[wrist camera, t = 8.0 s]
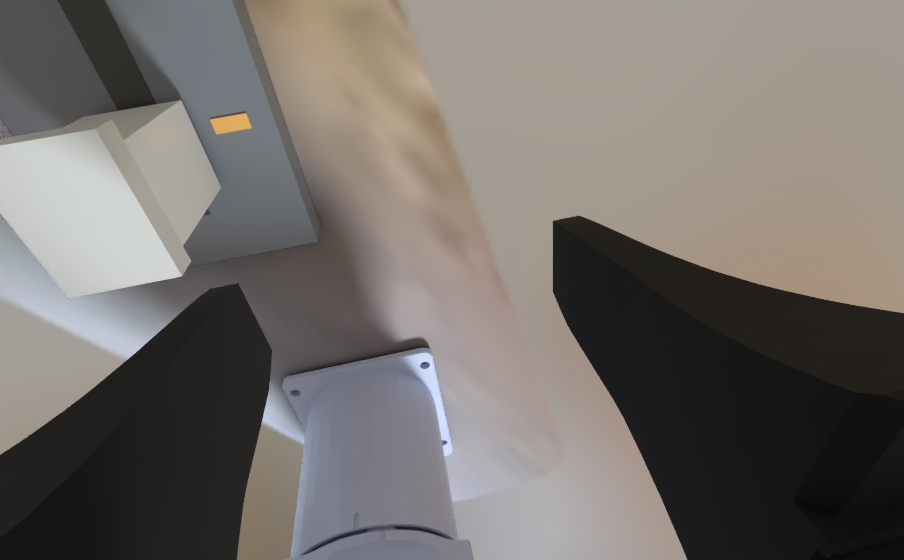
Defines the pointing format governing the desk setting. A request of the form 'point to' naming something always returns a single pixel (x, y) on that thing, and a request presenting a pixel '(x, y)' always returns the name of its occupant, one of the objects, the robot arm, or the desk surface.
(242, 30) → the console
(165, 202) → the fader tab
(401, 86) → the desk surface
